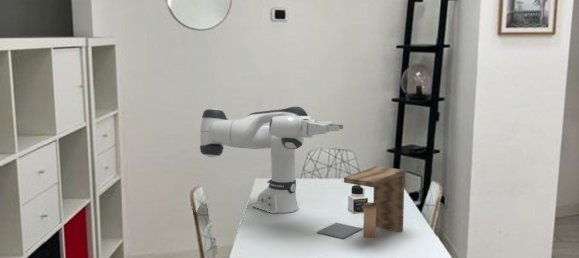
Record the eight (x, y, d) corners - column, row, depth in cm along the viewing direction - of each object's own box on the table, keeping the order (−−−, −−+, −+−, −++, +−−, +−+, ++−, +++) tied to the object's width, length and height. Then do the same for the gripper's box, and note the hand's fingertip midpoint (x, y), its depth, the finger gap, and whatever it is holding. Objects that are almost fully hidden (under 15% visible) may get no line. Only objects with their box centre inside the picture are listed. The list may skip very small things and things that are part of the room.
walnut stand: (343, 241, 226) (343, 177, 222) (375, 225, 246) (376, 166, 242) (372, 248, 218) (373, 182, 214) (402, 230, 238) (404, 169, 234)
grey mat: (316, 233, 236) (316, 231, 236) (336, 223, 248) (336, 222, 248) (343, 239, 229) (343, 237, 228) (362, 229, 240) (362, 228, 240)
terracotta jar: (360, 236, 232) (361, 204, 230) (367, 233, 236) (367, 201, 234) (372, 239, 228) (372, 206, 227) (378, 235, 233) (378, 203, 231)
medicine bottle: (353, 213, 263) (353, 188, 261) (347, 209, 270) (348, 184, 268) (367, 212, 265) (368, 187, 263) (361, 208, 272) (362, 183, 270)
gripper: (312, 132, 243) (345, 133, 240) (301, 136, 223) (336, 137, 220) (313, 117, 243) (345, 118, 239) (301, 120, 223) (336, 121, 219)
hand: (341, 127), depth 229 cm, fingers open, 8 cm apart
